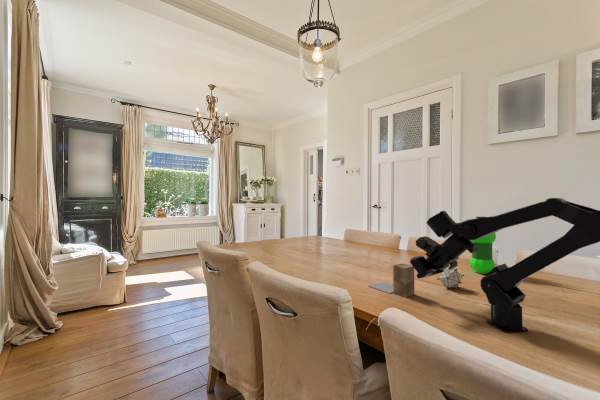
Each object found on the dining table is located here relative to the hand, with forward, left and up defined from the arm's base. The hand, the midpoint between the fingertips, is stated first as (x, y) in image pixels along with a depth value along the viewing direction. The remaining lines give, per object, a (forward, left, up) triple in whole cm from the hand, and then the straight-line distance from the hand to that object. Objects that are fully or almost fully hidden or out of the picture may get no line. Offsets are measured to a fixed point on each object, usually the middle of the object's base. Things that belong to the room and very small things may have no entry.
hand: (417, 277), depth 93 cm
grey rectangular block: (+5, +3, -7) cm, 9 cm away
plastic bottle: (+27, -44, -7) cm, 52 cm away
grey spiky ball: (+9, -17, -7) cm, 21 cm away
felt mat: (+12, +7, -7) cm, 15 cm away
